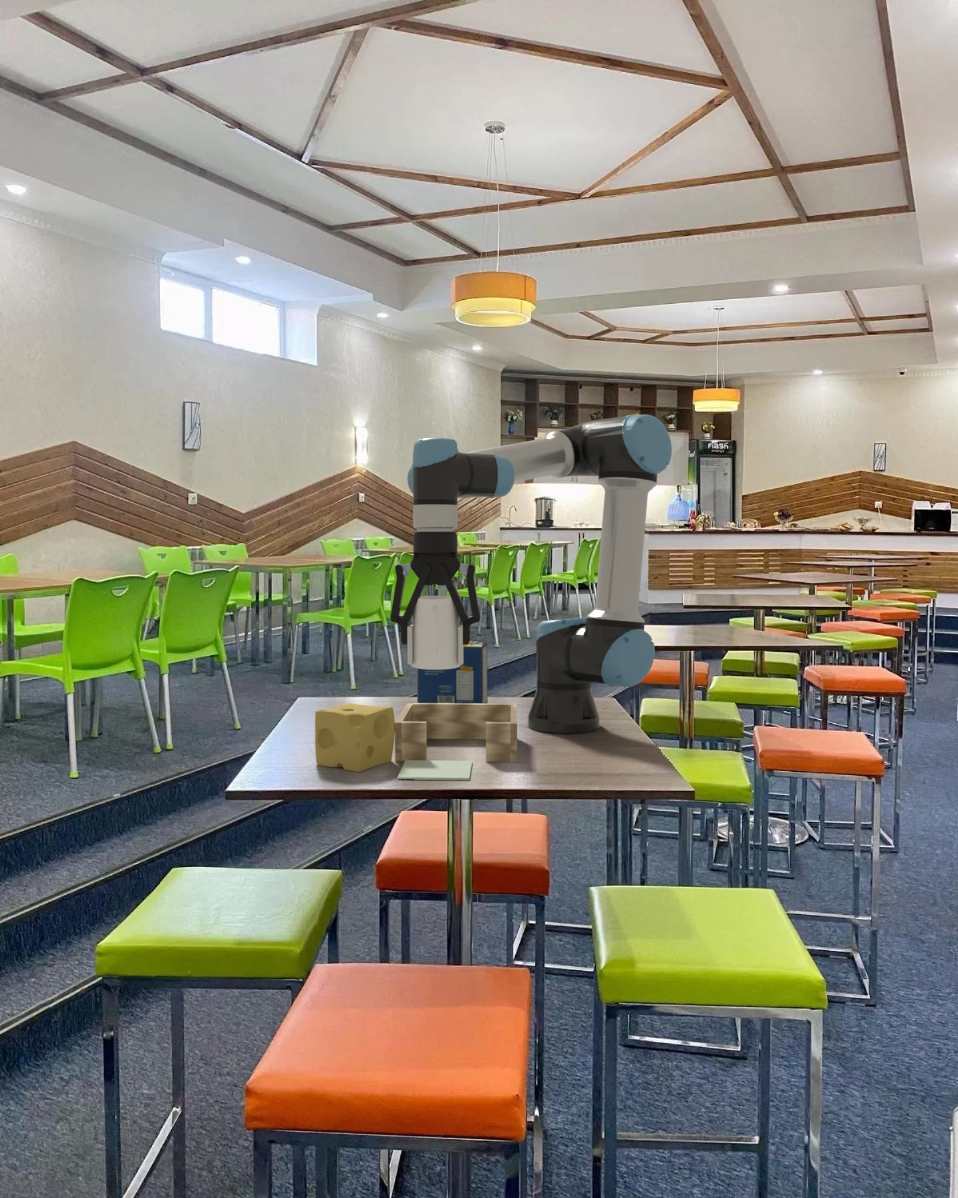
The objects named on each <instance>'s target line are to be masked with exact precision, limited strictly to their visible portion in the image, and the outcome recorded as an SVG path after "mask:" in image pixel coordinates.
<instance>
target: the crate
mask: <svg viewBox="0 0 958 1198" xmlns="http://www.w3.org/2000/svg"><path fill="white" fill-rule="evenodd" d="M427 740H485V763H486V762H487V763H517V762H518V703H488V704H476V703H417V702H407V703H406V704H405V706H404V707H403V709H402V710H401V712H400V713H399V716H398V717H397V718H396V720H395V736H394V761H395V762H405V760H428V757H427V755H428V754H427V753H428V752H427V751H428V750H427V746H428V745H427Z"/></svg>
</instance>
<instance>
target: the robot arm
mask: <svg viewBox="0 0 958 1198" xmlns="http://www.w3.org/2000/svg"><path fill="white" fill-rule="evenodd" d="M672 447H673V446H672V441H671V437H670V435H669V432H668V430H667V429H666V427H665V425H664V423H662V421H661V420H660V419H659V418H657V417H655V416H653V415H650V414H628V415H624V416H619V417H618V416H617V417H611V418H603V419H601V418H600V419H594V420H590V421H586V422H583V423H580V424H577V425H573V426H571V427H567V428H564V429H559V430H556V431H551V432H549V433H548V434H546V435H545V437H543V438H538V439H534V440H533V439H532V440H529V441H523V442H522V441H521V442H515V443H513V444H512V443H511V444H506V445H501V446H500V445H499V446H495V447H491V448H484V449H479V450H474V451H469V452H459V448H458V442H457V441H456V440H455V439H453V438H447V437H446V438H445V437H427V438H425V437H424V438H420V439H418V440H416V441H415V443H414V445H413V451H412V464H411V466H410V468H409V470H408V472H407V476H406V477H407V478H406V479H407V486H408V489H409V491H410V492H411V493H412V494H413V495H412V498H413V499H412V500H413V501H412V502H413V505H412V522H413V523H412V526H413V529H416V531H415V532H414V533H413V536H412V543H413V545H412V547H413V548H412V549H413V550H412V551H413V552H412V553H413V555H412V559H411V561H410V562H409V563H404V564H402V563H397V564H396V565H395V566H394V571H395V575H396V576H395V577H396V581H395V586H394V587H395V588H394V594H393V600H392V605H391V611H390V617H389V620H390V622H392V623H396V624H398V625H399V626H400V643H401V644H402V645H407V665H408V666H409V665H410V666H411V665H412V664H413V624H410V621H411V619H412V618H413V611H414V609H415V606H416V603H417V601H418V598H420V596H422V593H423V591H424V589H425V587H426V586H434V585H435V586H436V585H437V586H445V588H446V590H447V591H448V593H449V596H451V598H452V601H453V603H454V605H455V608H456V610H457V612H458V615H459V620H460V622H461V623H462V624H459V626H458V665H463V663H464V662H463V645H469V642H470V641H471V626H472V625H474V624H477V623H479V622H480V621H481V612H480V607H479V600H478V594H477V590H476V582H475V579H474V578H475V573H476V565H475V564H473V563H471V564H466V563H462V562H461V561H460V559H459V557H458V533H457V531H455V529H457V528H458V499H464V498H465V499H467V498H488V499H494V498H502V497H505V496H506V495H508V494H509V493H510V492H511V491H512V489H513V486H514V485H515V483H519V482H525V481H529V480H533V479H538V478H539V479H540V478H542V477H548V476H552V477H554V478H557V479H562V478H566V477H578V476H579V477H580V476H581V477H584V476H585V477H598V479H597V481H598V483H599V484H600V486H601V487H602V488H603V490H604V499H603V511H602V524H601V532H600V533H601V534H600V546H599V557H598V558H599V559H598V570H597V580H596V593H595V602H594V603H595V604H594V608H593V609H592V611H591V612H590V613H589V614H587V615H586V617H575V618H564V619H554V620H553V619H552V620H551V619H550V620H543V621H541V622H539V623H538V625H537V630H536V638H535V648H536V649H535V650H536V651H535V654H536V655H535V657H536V659H535V661H536V663H535V664H536V668H535V669H536V670H535V671H536V688H535V689H536V691H535V694H534V697H533V701H532V703H531V707H530V709H529V712H528V716H527V719H528V720H527V721H528V722H527V726H528V727H529V728H530V729H532V730H535V731H540V732H546V733H555V734H581V733H588V732H594V731H596V730H598V729H599V728H600V719H601V718H600V714H599V710H598V708H597V705H596V701H595V698H594V695H593V692H592V691H593V690H592V683H593V684H600V685H605V686H608V687H611V688H613V687H614V688H632V687H635V686H637V685H638V684H640V683H641V682H642V681H643V680H644V678H645V677H647V675H648V674H649V672H651V669H652V667H653V664H654V660H655V656H656V655H655V654H656V650H655V642H653V638H652V636H651V635H650V634H649V633H648V632H646V631H645V624H646V623H645V622H646V621H645V619H644V618H643V617H642V616H641V614H640V612H639V606H640V605H639V603H640V594H641V593H640V592H641V590H640V589H641V582H642V581H641V579H642V570H643V569H642V568H643V557H644V547H645V546H644V543H645V532H646V523H647V521H646V520H647V509H648V499H649V498H648V497H649V496H648V495H649V493H650V491H652V490H653V489H654V488H655V487H656V486H657V483H658V474H660V473H662V472H663V471H665V470H666V469H667V466H668V465H669V464H670V462H671V460H672V455H673V454H672V453H673V452H672V451H673V448H672ZM410 570H412V571H413V573H414V574H415V576H416V577H417V578H418V581H417V582H416V584H415V587H414V589H413V592H412V595H411V597H410V598H409V601H408V604H407V607H406V608H405V611H404V613H403V615H400V614H401V608H402V601H403V594H404V589H405V584H406V577H407V576H408V575H409V573H410ZM459 570H461V572H462V575H463V577H466V578H465V580H466V587H467V592H468V599H469V604H470V605H469V606H470V611H471V616H469V615H468V612H467V610H466V609H465V606H464V604H463V602H462V599H461V597H460V595H459V594H460V593H459V592H458V589H457V588H456V585H455V582H454V580H453V578H454V577H455V575H456V574H457V572H458V571H459Z"/></svg>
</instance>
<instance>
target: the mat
mask: <svg viewBox="0 0 958 1198" xmlns="http://www.w3.org/2000/svg"><path fill="white" fill-rule="evenodd" d="M403 762H404V763H403V765H402V767H401V769H400V771H399V772H398V775H397V777H396V779H405V780H406V779H414V780H415V781H417V780H418V781H470V777H471V773H472V772H471V771H472V767H473V760H428V759H427V760H405V761H403ZM406 781H407V780H406Z"/></svg>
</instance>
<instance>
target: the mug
mask: <svg viewBox="0 0 958 1198" xmlns="http://www.w3.org/2000/svg"><path fill="white" fill-rule="evenodd" d="M412 625H413V664H412V665H410V666H411V668H414V669H417V668H418V669H431V670H440V669H453V668H458V667H460V666H461V665H458V626H459V625H460V617H459V615H458V612H457V610H456V608H455V605H454V603H453V601H452V598H451V596H450V595H421V596H420V598H418V601H417V603H416V606H415V609H414V611H413V615H412Z"/></svg>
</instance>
